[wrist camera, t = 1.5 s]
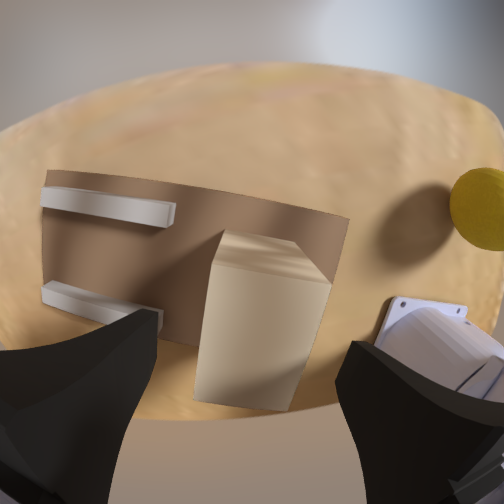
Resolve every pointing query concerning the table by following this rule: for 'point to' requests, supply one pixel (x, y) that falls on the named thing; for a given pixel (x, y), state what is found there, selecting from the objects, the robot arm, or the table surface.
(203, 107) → the table surface
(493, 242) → the lemon
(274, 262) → the block
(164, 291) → the board
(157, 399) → the table surface
